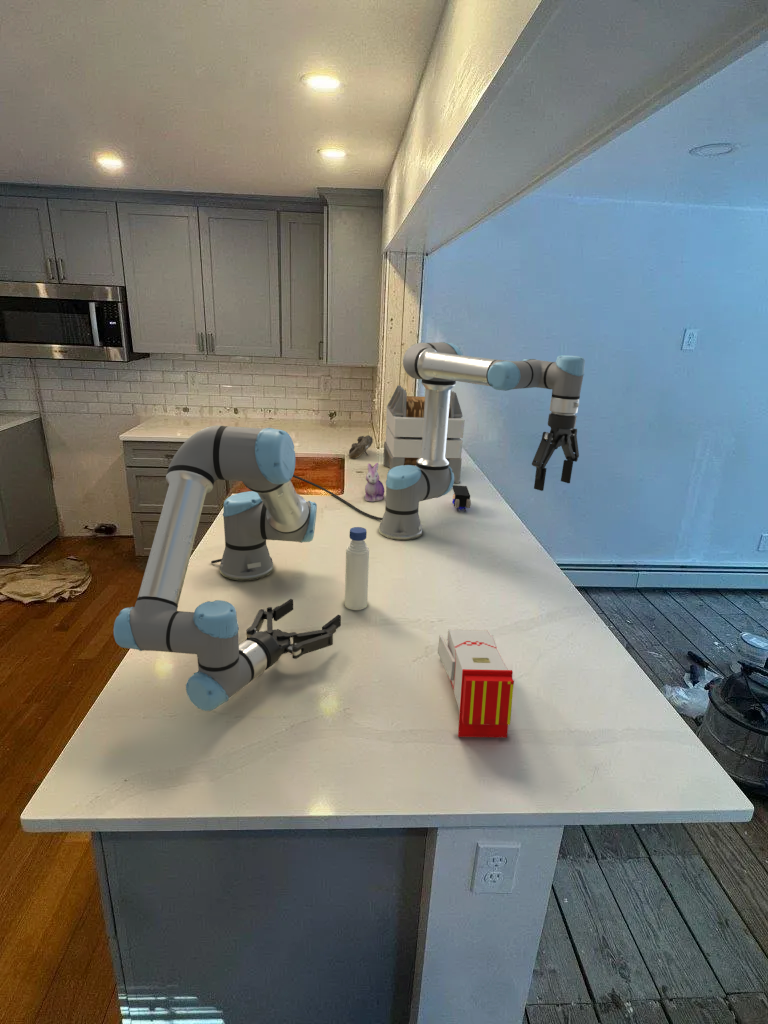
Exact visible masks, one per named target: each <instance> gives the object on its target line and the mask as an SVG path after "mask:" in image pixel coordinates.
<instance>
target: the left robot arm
mask: <svg viewBox="0 0 768 1024" xmlns="http://www.w3.org/2000/svg"><path fill="white" fill-rule="evenodd" d="M295 469H296V451H295V444H294V440H293V439H292V437H291V435H290V434H289V433H288V432H287V431H285V430H284V429H278V428H277V429H276V428H273V427H264V428H262V427H261V428H260V427H247V426H246V427H245V426H232V425H231V426H229V425H228V426H227V425H211V426H207V427H204V428H202V429H200V430H198V431H196V432H195V433H193V434H192V435H191V436H189V437H188V438H187V439H186V440H185V441H184V442H183V443H182V445H180V447H179V448H178V450H177V451H176V452H175V453H174V455H173V456H172V459H171V461H170V463H169V465H168V469H167V471H166V474H165V481H166V483H167V484H168V487H167V491H166V494H165V498H164V501H163V506H162V509H161V512H160V516H159V519H158V522H157V527H156V530H155V533H154V537H153V540H152V545H151V548H150V552H149V555H148V559H147V563H146V566H145V569H144V573H143V577H142V580H141V583H140V587H139V590H138V595H137V598H136V600H135V601H136V602H135V604H134V606H130V607H124V608H123V609H121V610H120V611H119V613H118V615H117V616H116V618H115V620H114V622H113V638H114V641H115V643H116V644H117V645H118V646H119V647H120V648H124V649H129V650H130V649H131V650H136V651H137V650H138V651H139V652H144V651H145V652H146V651H149V652H162V653H163V652H164V653H166V652H167V653H175V654H185V655H186V654H187V655H196V658H197V669H198V670H197V671H195V672H193V674H192V675H191V676H190V677H188V679H187V682H186V684H185V691H186V695H187V697H188V699H189V701H190V702H191V703H192V705H193V706H195V707H196V708H197V709H200V710H201V711H204V712H211V711H213V710H215V709H217V708H218V707H219V706H221V705H223V704H224V703H227V702H228V701H229V700H230V699H231V698H232V697H233V696H235V695H236V694H237V693H239V692H240V690H242V689H244V688H245V687H246V686H247V685H248V684H250V683H251V682H253V681H254V680H255V679H256V678H258V677H259V676H260V675H261V674H263V673H265V671H267V670H268V669H270V668H271V667H272V666H273V665H274V664H276V663H277V662H278V661H279V659H280V658H281V656H282V655H284V654H288V653H289V654H291V655H292V656H291V658H292V659H295V660H297V659H299V658H300V657H302V656H303V655H307V654H309V653H312V652H316V651H318V650H322V649H324V648H328V647H331V646H333V645H334V634H336V633H337V630H338V629H339V628H340V627H341V625H342V622H341V621H342V614H341V615H340V614H337V615H336V616H334V617H333V618H332V619H330V620H329V621H328V622H327V623H324V624H323V626H321V629H317V630H312V631H304V632H296V631H291V632H287V631H283V630H282V629H279V628H277V629H274V628H273V626H274V625H273V623H274V622H277V621H279V620H280V619H282V618H283V617H285V616H287V615H288V614H290V613H291V612H292V611H293V610H294V599H292V598H290V599H288V600H287V601H285V602H283V603H282V604H280V605H277V606H275V607H274V608H273V607H271V606H268V607H267V608H266V610H265V609H264V608H260V609H259V610H258V612H257V613H256V614H255V615H256V616H255V617H254V619H253V621H252V624H251V625H250V626H249V627H248V628H246V630H245V631H246V633H245V634H246V635H245V637H246V638H245V640H242V641H241V642H240V643H239V630H240V627H239V622H238V615H237V610H236V607H235V606H234V605H233V604H232V603H231V602H229V601H226V600H221V599H220V600H219V599H217V600H213V601H210V600H207V601H205V602H202V603H201V604H199V605H198V606H196V608H195V609H194V611H181V610H178V607H179V603H180V598H181V596H182V595H181V594H182V591H183V586H184V584H185V583H184V582H185V579H186V575H187V570H188V568H189V564H190V561H191V560H190V558H191V556H192V552H193V548H194V543H195V540H196V535H197V531H198V527H199V524H200V521H201V515H202V512H203V509H204V504H205V501H206V496H207V494H209V493H211V492H212V491H213V489H214V485H215V482H216V481H219V480H220V481H231V482H241V483H242V484H243V485H244V486H245V487H246V488H247V489H248V490H250V491H243V492H238V493H235V494H232V495H230V496H228V497H227V498H226V499H225V500H224V502H223V512H222V517H223V531H224V550H223V552H222V558H218V559H213V560H211V562H210V563H211V564H216V563H220V565H219V570H220V571H219V572H220V574H221V575H222V576H223V577H224V578H226V579H229V580H233V581H237V582H238V581H240V582H243V581H244V582H247V581H254V580H255V581H256V580H260V579H263V578H265V577H267V576H268V575H270V574H271V573H272V572H273V570H274V561H273V557H271V555H270V554H271V553H270V551H269V548H268V545H267V541H282V542H296V543H310V542H312V541H313V540H314V536H315V530H316V522H317V513H318V512H317V509H318V505H317V503H316V502H314V501H311V500H308V501H307V500H306V499H305V498H304V497H303V496H301V495H300V494H299V493H297V491H296V489H295V486H294V485H293V482H292V479H293V478H294V477H293V475H295ZM265 620H266V630H263V631H262V630H261V628H262V626H263V624H264V622H265ZM273 621H274V622H273ZM291 639H292V643H291Z"/></svg>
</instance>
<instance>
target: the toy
mask: <svg viewBox="0 0 768 1024" xmlns="http://www.w3.org/2000/svg"><path fill="white" fill-rule="evenodd" d="M446 640H447V643H446V641H445V639H444V636H443V635H442V634H439V637H438V646H437V656H438V657H439V659H440V661H441V663H442V666H443V668H444V670H445V672H446V674H447V677H448V679H449V681H450V684H451V687H452V690H453V693H454V697H455V701H456V705H457V708H458V711H459V714H458V715H459V716H458V730H457V731H458V732H457V737H458V738H508V731H509V726H510V725H511V717H512V707H513V697H514V696H513V695H514V684H515V680H514V679H513V673H514V671H513V670H512V669H508V667H507V665H506V662H505V661H504V659H503V658H502V655H501V653H500V651H499V649H498V647H497V643H496V639H495V637H494V635H493V634H491V632H490V631H489V629H467V628H466V629H465V628H463V629H461V628H460V629H459V628H448V630H447V639H446Z"/></svg>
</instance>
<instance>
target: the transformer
mask: <svg viewBox="0 0 768 1024" xmlns="http://www.w3.org/2000/svg"><path fill="white" fill-rule="evenodd" d="M407 394H408V393H407V390H406V389H404V388H403V387H402V385H399V384H398V385H397V386H396V388H395V390H394V392H393V394H392V395H391V398H390V400H389V402H388V404H387V405H386V413H385V414H386V415H385V423H386V428H385V438H384V442H383V466H384V467H388V468H389V470H390V469H392V468H394V467H396V466H401V465H404V466H405V465H413V466H416V461H417V459H418V458H420V457H421V449H422V434H423V419H424V404H425V396H415V395H414V396H413V395H412V396H411V395H407ZM464 429H465V419H464V418H463V411H462V408H461V405H460V402H459V398H458V395H457V392H455V391H453V390H451V392H450V404H449V416H448V428H447V441H446V453H445V458H446V459H447V461H448V462H449V466H450V467H451V469H452V473H454V484H455V483H456V484H459V483H461V472H462V461H463V460H462V453H463V442H464V441H463V440H462V439H463V438H464V431H465V430H464Z"/></svg>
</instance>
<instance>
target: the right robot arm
mask: <svg viewBox="0 0 768 1024" xmlns="http://www.w3.org/2000/svg"><path fill="white" fill-rule="evenodd" d="M585 365H586V360H585V358H584V357H582V356H578V355H566V354H565V355H564V354H563V355H558V356H557V357H556V360H555V361H549V360H541V359H536V358H524V359H521V360H506V359H505V360H504V359H503V360H502V359H496V358H487V357H479V356H471V355H464V354H463V352H462V350H461V349H460V347H459V346H457V345H456V344H455V343H451V342H445V341H443V342H442V341H441V342H440V341H439V342H438V341H437V342H417V343H414V344H412V345H411V346H409V347H408V348H407V350H406V351H405V353H404V355H403V358H402V366H403V369H404V372H405V373H406V374H407V375H408V376H409V377H411V378H412V379H415V380H421V385H422V386H423V387H424V389H425V392H424V397H425V404H424V419H423V434H422V449H421V457H420V458H418V459H417V461H416V466H413V465H401V466H396V467H394V468H392V469H390V468H389V470H388V472H387V474H386V479H385V504H384V505H385V507H384V508H385V509H384V513H383V515H382V517H380V516H376V515H372V514H370V513H368V512H365V511H363V510H361V509H359V508H358V507H356V506H355V505H353V504H352V503H350V502H349V501H347V500H345V499H343V498H342V497H341V496H339V495H337V494H335V493H334V492H332V491H330V490H328V489H327V488H325V487H323V486H321V485H319V484H316V483H314V482H313V481H310V480H307V479H305V478H303V477H300V476H298V475H295V474H293V477H292V478H295V479H296V480H300V481H302V482H304V483H307V484H309V485H311V486H313V487H316V488H318V489H320V490H322V491H324V492H325V493H327V494H329V495H331V496H332V497H334V498H336V499H337V500H339V501H341V502H342V503H344V504H345V505H347V506H348V507H350V508H352V509H353V510H355V511H356V512H358V513H359V514H362V515H364V516H365V517H368V518H370V519H373V520H377V521H381V522H379V525H378V533H379V534H380V535H381V536H382V537H385V538H387V539H389V540H395V541H410V540H415V539H418V538H420V537H421V536H422V535H423V524H421V518H420V515H419V507H420V506H419V505H420V502H423V501H427V500H431V499H437V498H440V497H443V496H446V495H448V493H450V492H451V490H453V485H455V483H454V473H452V469H451V467H450V466H449V462H448V461H447V459H446V458H445V453H446V441H447V428H448V416H449V404H450V392H451V391H452V389H453V388H454V387H455V386H456V384H457V382H461V383H465V384H473V385H479V386H487V387H491V388H492V389H494V390H496V391H503V392H504V391H511V390H520V389H532V388H533V389H534V388H539V389H546V390H551V398H550V404H549V413H548V418H547V419H548V420H547V426H548V427H549V428H550V431H549V432H548V431H543V432H542V435H541V440H540V442H539V445H538V447H537V449H536V452H535V454H534V457H533V460H532V461H531V466H533V467H535V475H534V477H535V478H534V485H533V489H534V490H537V491H539V492H543V491H544V489H545V484H546V483H545V482H546V476H547V468H546V466H547V465H548V463H549V461H550V459H551V457H552V456H553V454H554V453H555V451H556V450H557V449H558V448H560V447H561V449H562V452H563V455H564V458H565V459H563V463H562V468H561V469H562V470H561V475H560V482H562V483H566V484H571V478H572V472H573V466H574V463H576V462H578V461H579V457H580V453H579V444H578V428H576V423H577V419H578V416H577V414H578V412H579V411H578V410H579V406H580V397H581V391H582V385H583V380H584V376H585Z"/></svg>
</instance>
